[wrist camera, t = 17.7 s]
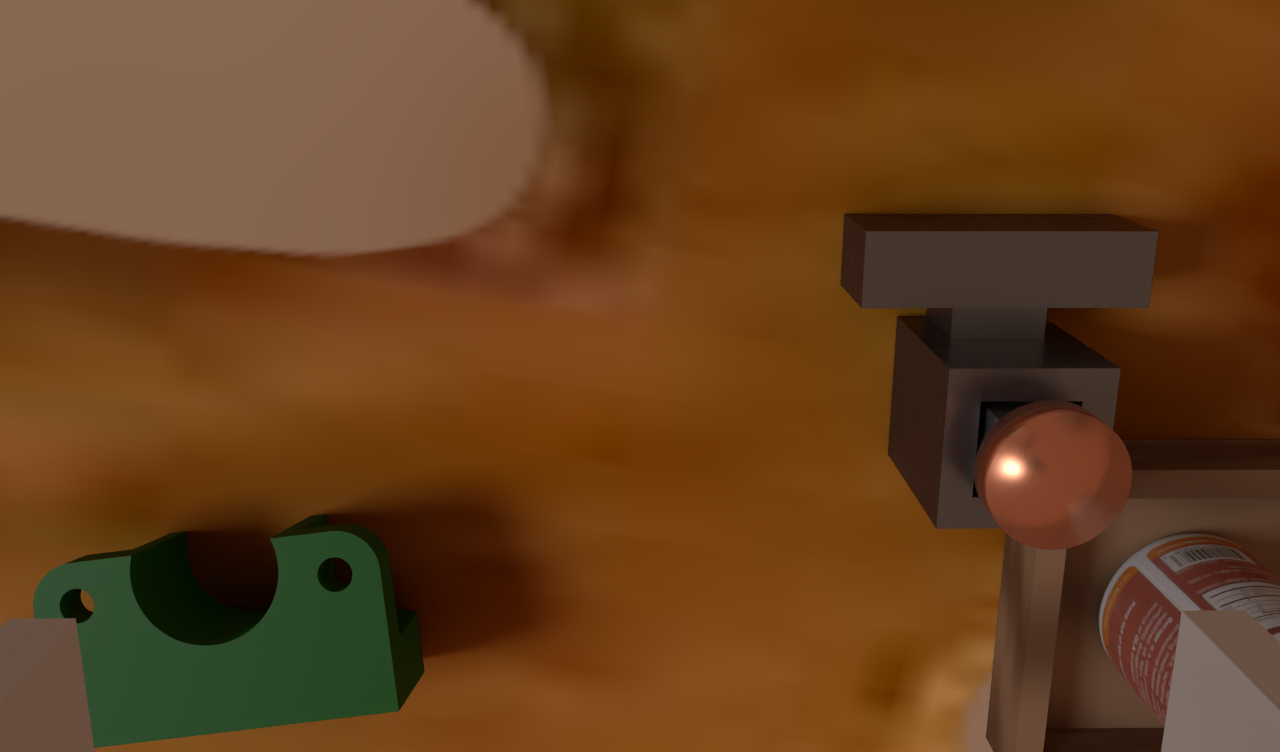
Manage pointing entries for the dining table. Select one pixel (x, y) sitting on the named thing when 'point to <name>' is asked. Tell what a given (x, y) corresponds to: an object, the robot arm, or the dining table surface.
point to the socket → (988, 327)
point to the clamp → (236, 638)
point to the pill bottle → (1178, 604)
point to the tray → (1078, 577)
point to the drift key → (1050, 472)
